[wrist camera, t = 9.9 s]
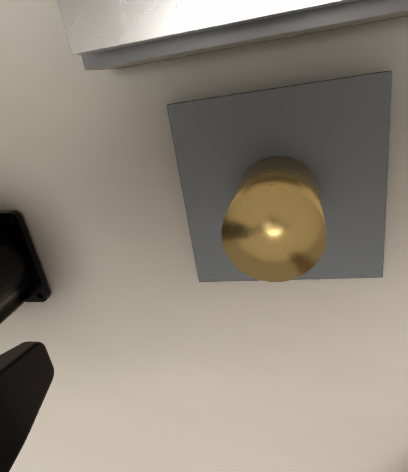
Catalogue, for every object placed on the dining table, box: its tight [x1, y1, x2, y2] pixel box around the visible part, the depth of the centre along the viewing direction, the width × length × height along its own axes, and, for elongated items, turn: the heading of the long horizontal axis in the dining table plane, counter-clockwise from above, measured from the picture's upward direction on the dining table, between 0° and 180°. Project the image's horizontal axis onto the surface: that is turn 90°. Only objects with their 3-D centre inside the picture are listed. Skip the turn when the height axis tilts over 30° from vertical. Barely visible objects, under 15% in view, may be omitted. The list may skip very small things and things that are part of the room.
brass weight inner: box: [221, 156, 327, 282], centre depth 17 cm, size 4×4×5 cm
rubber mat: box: [167, 71, 392, 282], centre depth 19 cm, size 10×10×1 cm
